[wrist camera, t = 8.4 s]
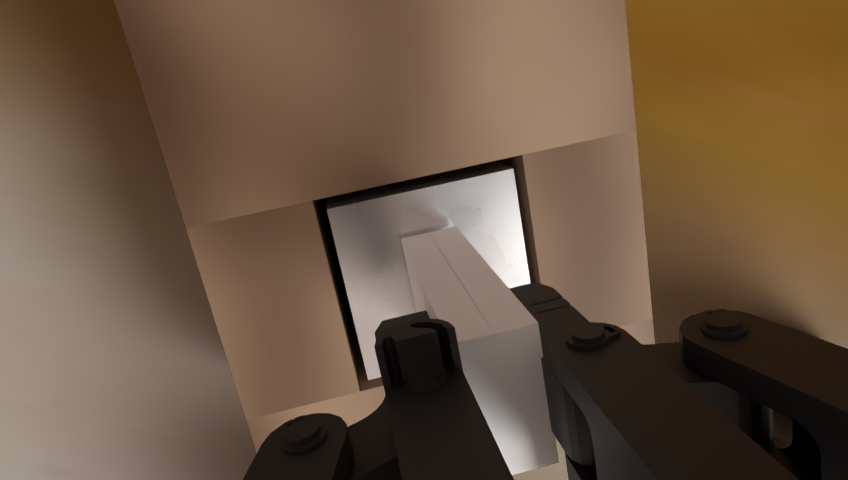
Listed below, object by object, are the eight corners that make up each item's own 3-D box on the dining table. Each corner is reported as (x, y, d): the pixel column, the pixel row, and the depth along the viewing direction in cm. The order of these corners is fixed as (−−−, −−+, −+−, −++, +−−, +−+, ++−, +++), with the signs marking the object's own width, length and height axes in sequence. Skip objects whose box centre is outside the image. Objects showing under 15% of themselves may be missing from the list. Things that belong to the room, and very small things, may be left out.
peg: (458, 140, 23) (513, 168, 16) (480, 264, 24) (538, 337, 18) (326, 168, 22) (326, 209, 16) (356, 294, 24) (368, 380, 17)
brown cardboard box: (474, -361, 20) (569, -635, 12) (564, 314, 27) (661, 411, 19) (93, -311, 19) (-68, -577, 11) (290, 381, 25) (275, 513, 18)
